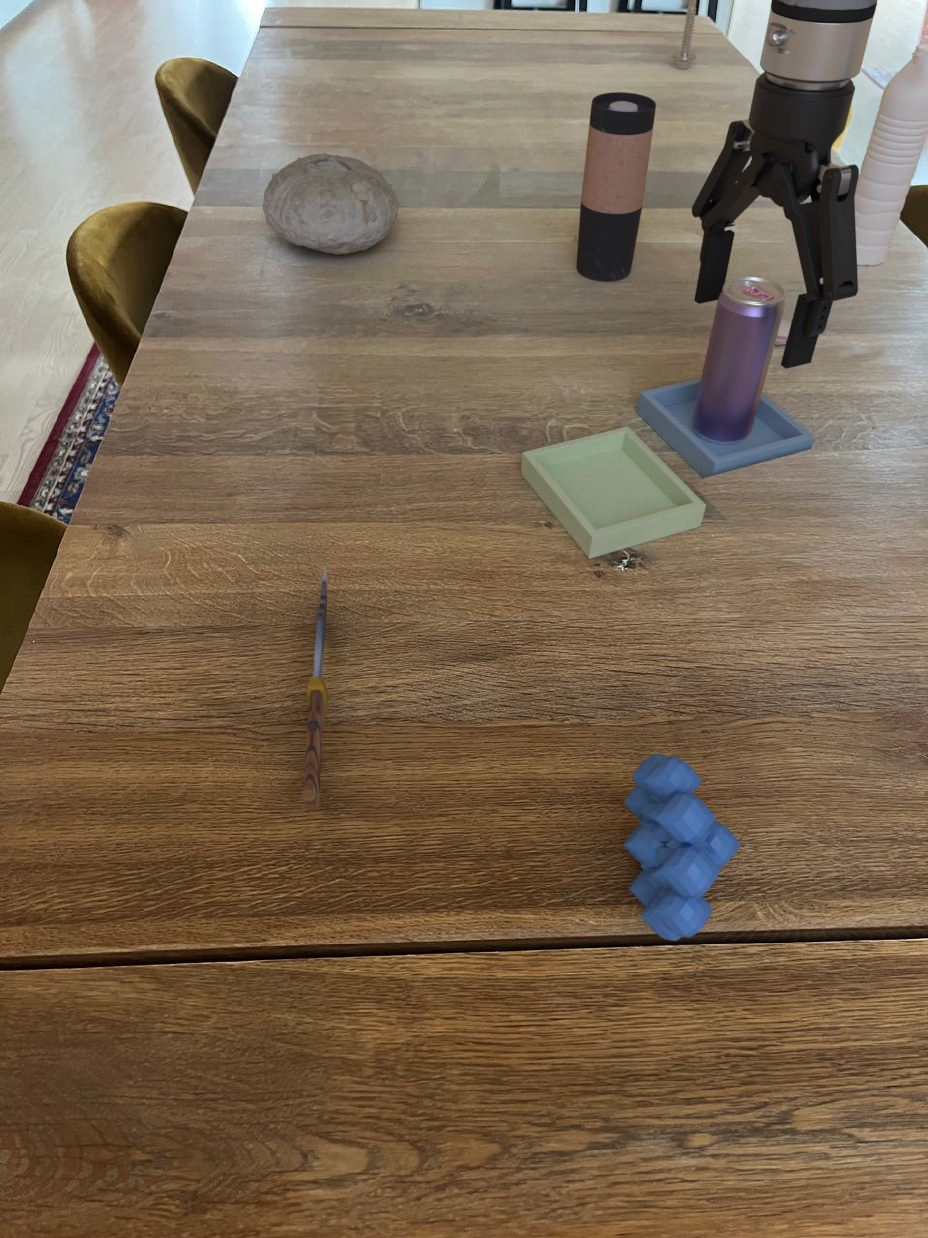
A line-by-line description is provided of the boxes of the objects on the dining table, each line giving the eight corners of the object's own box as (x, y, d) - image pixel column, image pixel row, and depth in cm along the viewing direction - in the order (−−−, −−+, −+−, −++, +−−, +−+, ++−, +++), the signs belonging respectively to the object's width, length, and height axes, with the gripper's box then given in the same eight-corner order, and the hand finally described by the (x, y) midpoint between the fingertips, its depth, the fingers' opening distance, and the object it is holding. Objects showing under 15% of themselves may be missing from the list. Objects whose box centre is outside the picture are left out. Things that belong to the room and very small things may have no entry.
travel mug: (563, 263, 124) (578, 96, 110) (611, 252, 127) (632, 88, 113) (594, 287, 119) (615, 115, 105) (644, 275, 122) (670, 106, 108)
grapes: (741, 986, 55) (795, 881, 47) (626, 987, 55) (660, 883, 47) (701, 816, 63) (740, 701, 55) (601, 817, 63) (626, 702, 55)
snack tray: (700, 526, 85) (706, 504, 84) (589, 559, 82) (592, 537, 80) (624, 447, 94) (627, 425, 92) (520, 473, 91) (522, 451, 89)
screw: (684, 62, 192) (699, 68, 189) (665, 65, 190) (680, 72, 187) (696, -13, 183) (712, -8, 180) (676, -11, 181) (692, -5, 178)
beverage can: (721, 453, 93) (757, 311, 82) (678, 426, 96) (707, 285, 86) (762, 434, 95) (802, 293, 85) (718, 408, 99) (751, 269, 88)
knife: (319, 586, 79) (313, 541, 75) (336, 586, 79) (331, 540, 76) (304, 843, 62) (296, 799, 58) (326, 841, 62) (318, 798, 58)
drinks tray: (808, 457, 93) (815, 436, 92) (710, 484, 90) (715, 463, 88) (728, 390, 102) (733, 369, 100) (636, 412, 99) (639, 391, 97)
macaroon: (750, 338, 110) (755, 318, 109) (776, 325, 113) (782, 306, 111) (781, 353, 108) (786, 332, 106) (807, 339, 110) (812, 319, 109)
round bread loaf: (422, 230, 131) (420, 154, 124) (359, 281, 119) (354, 201, 112) (311, 207, 136) (304, 132, 129) (241, 254, 124) (229, 175, 117)
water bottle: (837, 242, 130) (898, 35, 112) (886, 250, 128) (956, 41, 111) (832, 268, 124) (896, 54, 106) (884, 276, 123) (957, 60, 105)
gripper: (677, 42, 80) (644, 283, 95) (879, 130, 64) (802, 404, 79) (750, 33, 82) (707, 270, 97) (964, 115, 66) (873, 385, 81)
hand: (749, 330), depth 88 cm, fingers open, 13 cm apart
